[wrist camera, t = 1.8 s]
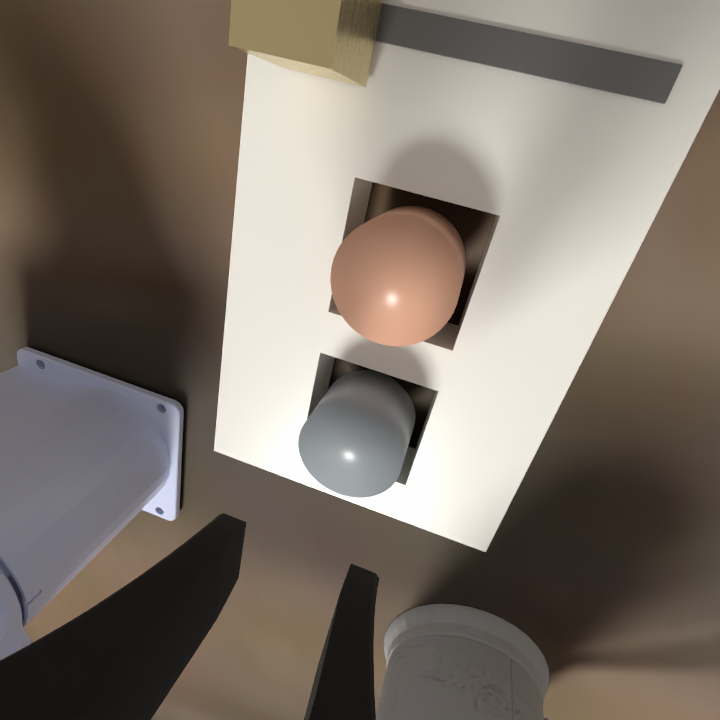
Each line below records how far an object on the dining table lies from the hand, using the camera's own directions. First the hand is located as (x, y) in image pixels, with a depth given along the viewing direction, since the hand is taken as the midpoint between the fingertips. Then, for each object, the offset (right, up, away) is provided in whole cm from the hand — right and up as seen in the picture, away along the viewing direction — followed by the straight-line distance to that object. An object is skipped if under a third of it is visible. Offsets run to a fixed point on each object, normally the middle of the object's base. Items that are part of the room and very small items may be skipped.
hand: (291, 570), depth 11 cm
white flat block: (+4, +9, +5) cm, 11 cm away
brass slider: (+1, +14, +1) cm, 14 cm away
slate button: (+2, +3, +7) cm, 8 cm away
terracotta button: (+3, +8, +4) cm, 10 cm away
